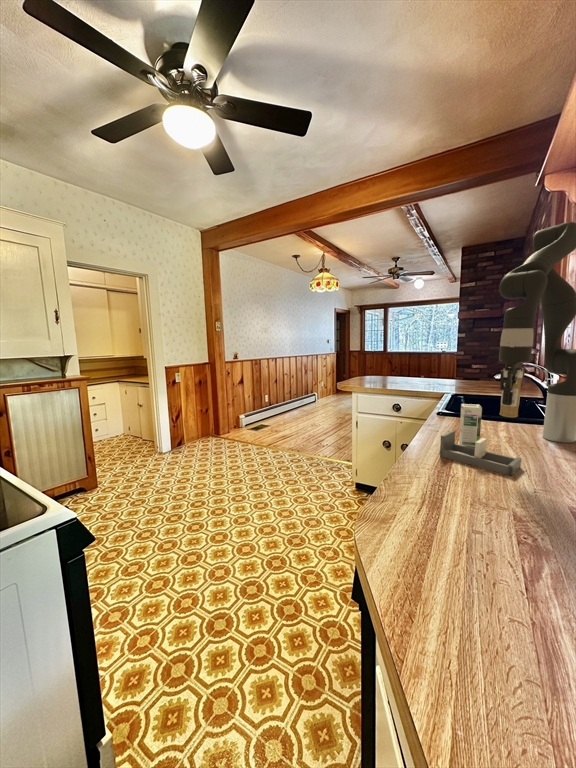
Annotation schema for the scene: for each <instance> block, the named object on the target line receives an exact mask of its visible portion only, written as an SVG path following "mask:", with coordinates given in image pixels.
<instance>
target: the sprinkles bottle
mask: <svg viewBox="0 0 576 768" xmlns="http://www.w3.org/2000/svg"><path fill="white" fill-rule="evenodd" d="M515 374H516V373H515ZM522 376H523V372H522V371H521V372H520V375H518V381H517V384H516V385H515V386H514V391H513V398H512V404H511V405H504V404H502V400H503V392H504V391H502V390H501V397H500V410H499V415H500V416H502V417H505V418H517V417H519V406H520V398H521V388H522V387H521V379H522ZM512 381H514V380H512ZM506 386H509V384H507V385H506Z"/></svg>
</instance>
